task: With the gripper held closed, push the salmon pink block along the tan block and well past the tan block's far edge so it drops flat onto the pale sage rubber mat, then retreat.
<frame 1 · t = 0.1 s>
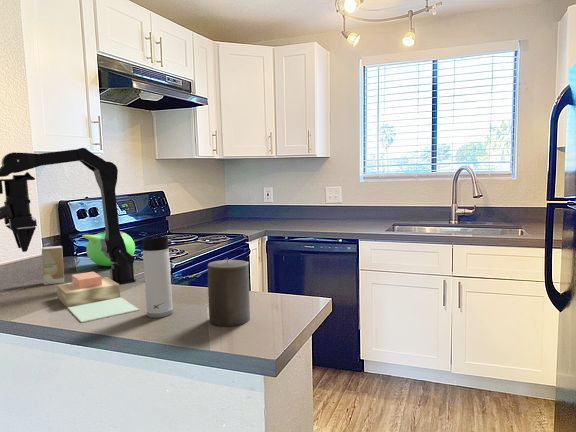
hand: (22, 249, 130), 15 cm above the worktop, tool pointing down, fingers open, 9 cm apart
toy bird: (111, 266, 176), on the worktop
pillar candle: (230, 320, 106), on the worktop
salmon pink block: (86, 279, 130), point 5 cm above the worktop, touching tan block
tan block: (88, 298, 129), on the worktop
mat: (102, 309, 118), on the worktop
travel mug: (160, 314, 112), on the worktop
skincare box: (54, 283, 150), on the worktop
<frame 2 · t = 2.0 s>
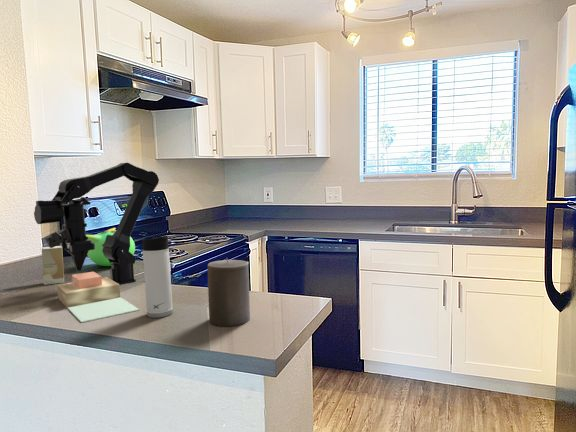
hand: (78, 270, 138), 6 cm above the worktop, tool pointing down, fingers closed
nothing on the worktop moved.
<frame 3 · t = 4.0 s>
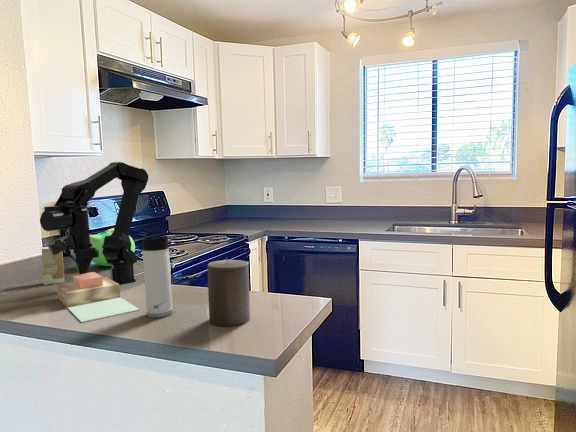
hand: (82, 278, 133), 5 cm above the worktop, tool pointing down, fingers closed
salmon pink block: (87, 280, 129), point 5 cm above the worktop, touching gripper
everything else where it was.
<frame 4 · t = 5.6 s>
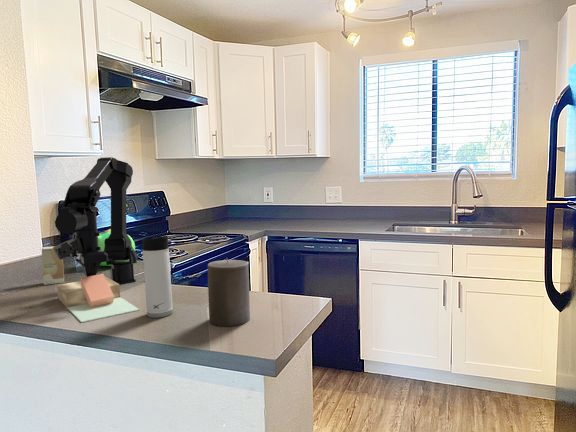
hand: (90, 283, 126), 5 cm above the worktop, tool pointing down, fingers closed
salmon pink block: (97, 290, 122), point 4 cm above the worktop, tilted 35°, touching tan block, mat
everything else where it was.
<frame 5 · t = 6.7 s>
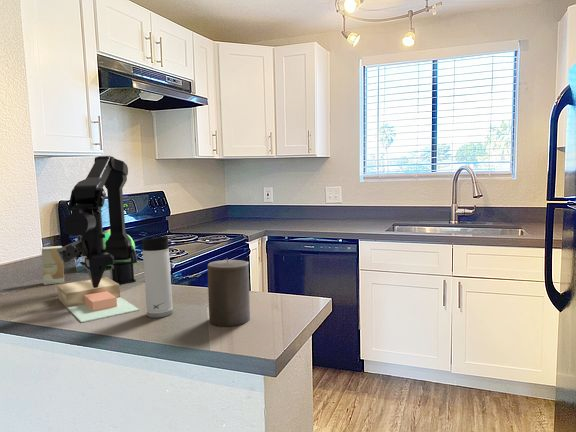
hand: (95, 287, 122), 5 cm above the worktop, tool pointing down, fingers closed
salmon pink block: (100, 300, 120), point 2 cm above the worktop, touching mat
everything else where it was.
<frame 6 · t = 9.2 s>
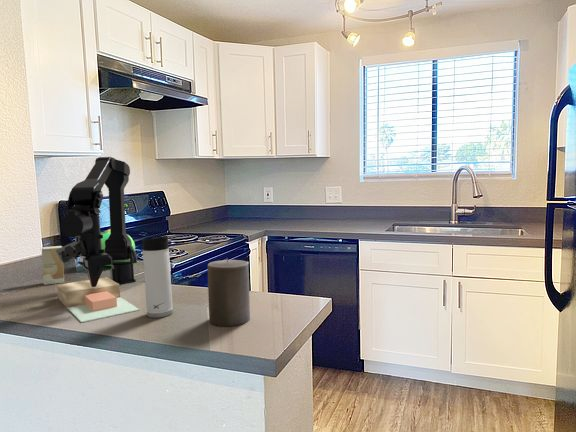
hand: (93, 286, 124), 4 cm above the worktop, tool pointing down, fingers closed
nothing on the worktop moved.
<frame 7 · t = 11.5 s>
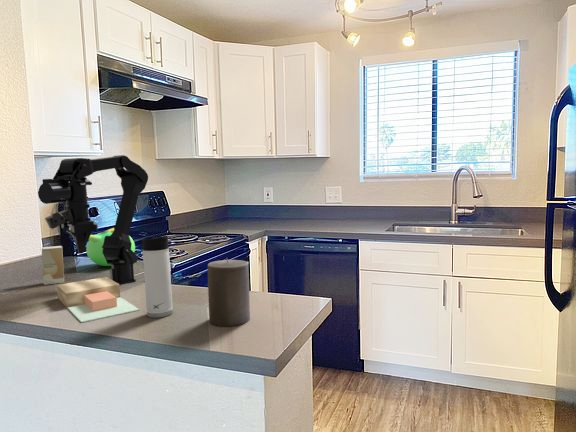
hand: (81, 253, 132), 12 cm above the worktop, tool pointing down, fingers closed
nothing on the worktop moved.
at the end: salmon pink block inside the target area (3.7 cm from its centre), point 1.5 cm above the worktop; salmon pink block point 1.5 cm above the worktop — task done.
